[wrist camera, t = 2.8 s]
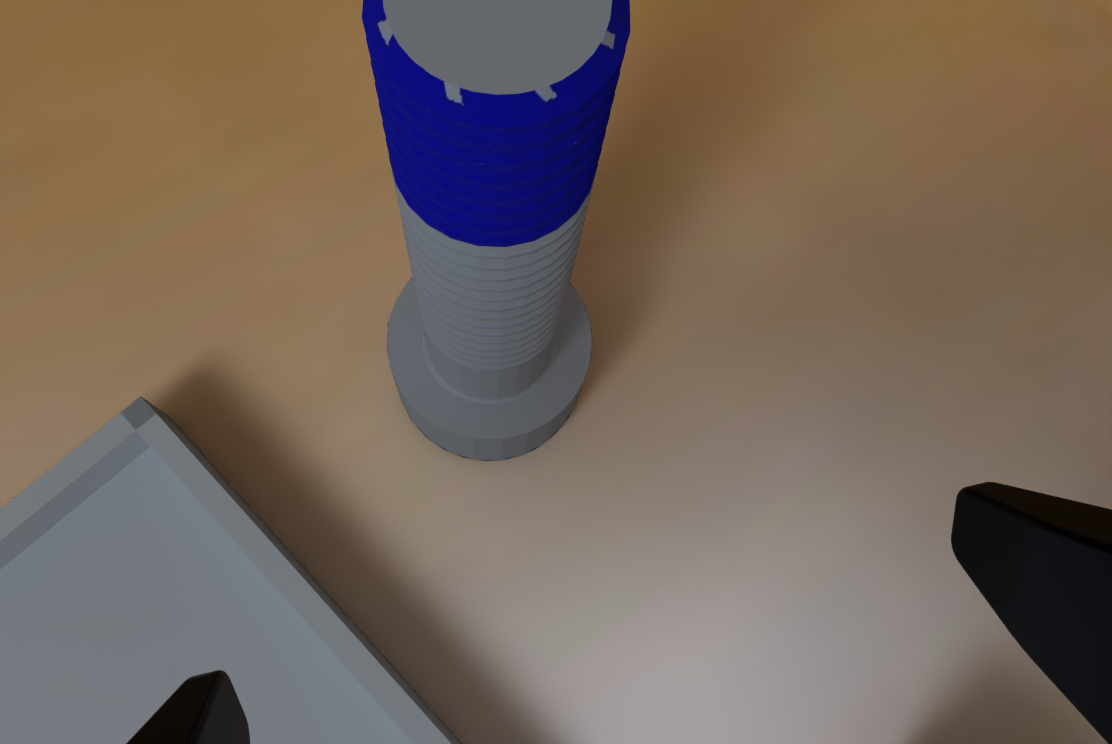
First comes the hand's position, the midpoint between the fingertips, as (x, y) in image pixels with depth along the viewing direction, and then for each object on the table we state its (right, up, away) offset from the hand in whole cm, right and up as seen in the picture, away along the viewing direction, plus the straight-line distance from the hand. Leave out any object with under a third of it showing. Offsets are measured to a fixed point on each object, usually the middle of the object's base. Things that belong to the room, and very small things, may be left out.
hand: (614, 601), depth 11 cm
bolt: (-3, +3, +15) cm, 15 cm away
